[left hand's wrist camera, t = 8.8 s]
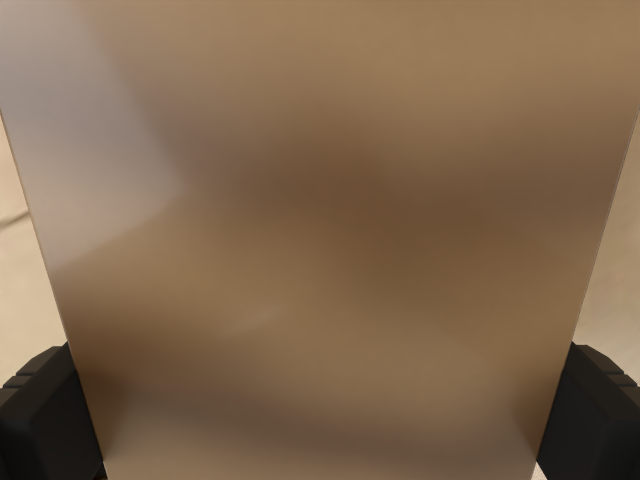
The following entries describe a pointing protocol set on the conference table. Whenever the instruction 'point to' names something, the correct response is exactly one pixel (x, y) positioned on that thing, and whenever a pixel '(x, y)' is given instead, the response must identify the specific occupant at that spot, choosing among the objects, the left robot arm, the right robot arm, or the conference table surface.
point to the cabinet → (319, 222)
